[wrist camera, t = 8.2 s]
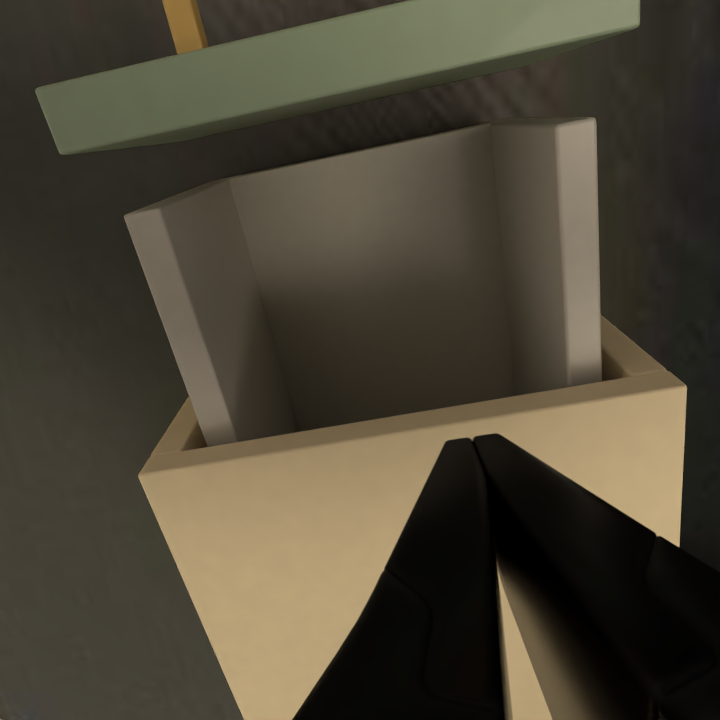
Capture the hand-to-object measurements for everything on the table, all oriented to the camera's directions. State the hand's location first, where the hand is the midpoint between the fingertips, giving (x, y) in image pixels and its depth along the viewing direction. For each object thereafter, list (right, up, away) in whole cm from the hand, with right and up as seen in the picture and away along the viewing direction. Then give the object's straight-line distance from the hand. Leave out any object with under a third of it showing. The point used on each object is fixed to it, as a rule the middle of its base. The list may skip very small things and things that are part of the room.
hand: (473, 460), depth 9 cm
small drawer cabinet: (+1, -3, +14) cm, 14 cm away
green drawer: (-2, +7, +9) cm, 11 cm away
